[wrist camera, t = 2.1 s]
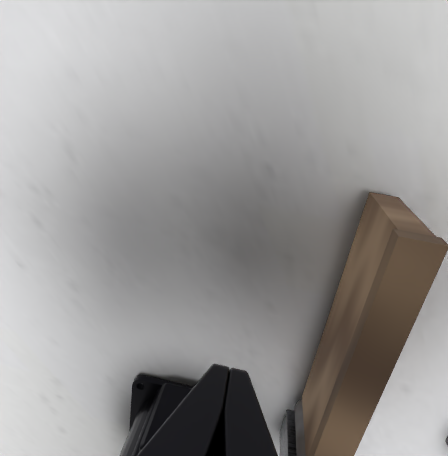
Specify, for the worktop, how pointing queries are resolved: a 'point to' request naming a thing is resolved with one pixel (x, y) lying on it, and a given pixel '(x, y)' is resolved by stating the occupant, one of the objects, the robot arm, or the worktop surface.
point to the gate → (366, 326)
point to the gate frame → (291, 435)
